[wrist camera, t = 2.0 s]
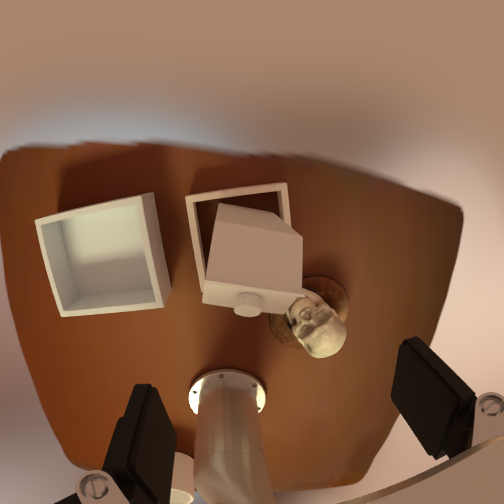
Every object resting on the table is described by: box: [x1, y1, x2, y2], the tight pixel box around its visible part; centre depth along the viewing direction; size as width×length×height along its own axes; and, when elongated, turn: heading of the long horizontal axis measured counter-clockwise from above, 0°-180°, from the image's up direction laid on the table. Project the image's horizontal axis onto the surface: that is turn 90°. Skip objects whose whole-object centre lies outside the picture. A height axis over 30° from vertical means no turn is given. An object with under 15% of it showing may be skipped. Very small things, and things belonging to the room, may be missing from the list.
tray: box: [185, 182, 291, 292], centre depth 38 cm, size 12×12×3 cm
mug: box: [170, 451, 194, 504], centre depth 45 cm, size 8×12×10 cm
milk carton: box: [202, 203, 305, 317], centre depth 30 cm, size 7×7×19 cm
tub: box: [35, 192, 172, 317], centre depth 35 cm, size 13×15×6 cm
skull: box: [270, 276, 348, 358], centre depth 41 cm, size 12×10×10 cm
